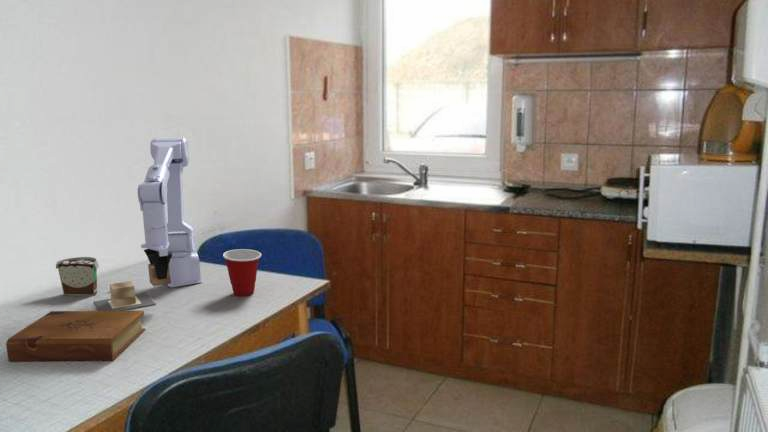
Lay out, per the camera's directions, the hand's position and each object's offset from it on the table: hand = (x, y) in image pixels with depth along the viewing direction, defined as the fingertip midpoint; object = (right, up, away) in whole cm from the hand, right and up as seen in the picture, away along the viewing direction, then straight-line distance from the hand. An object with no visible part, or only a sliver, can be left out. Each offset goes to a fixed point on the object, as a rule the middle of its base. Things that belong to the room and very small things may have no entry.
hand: (160, 276), depth 171 cm
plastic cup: (+20, -6, +13) cm, 25 cm away
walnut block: (0, -2, 0) cm, 2 cm away
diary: (-10, -14, -23) cm, 29 cm away
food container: (-28, -6, +17) cm, 34 cm away
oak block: (-12, -8, +6) cm, 15 cm away
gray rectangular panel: (-12, -8, +6) cm, 16 cm away
